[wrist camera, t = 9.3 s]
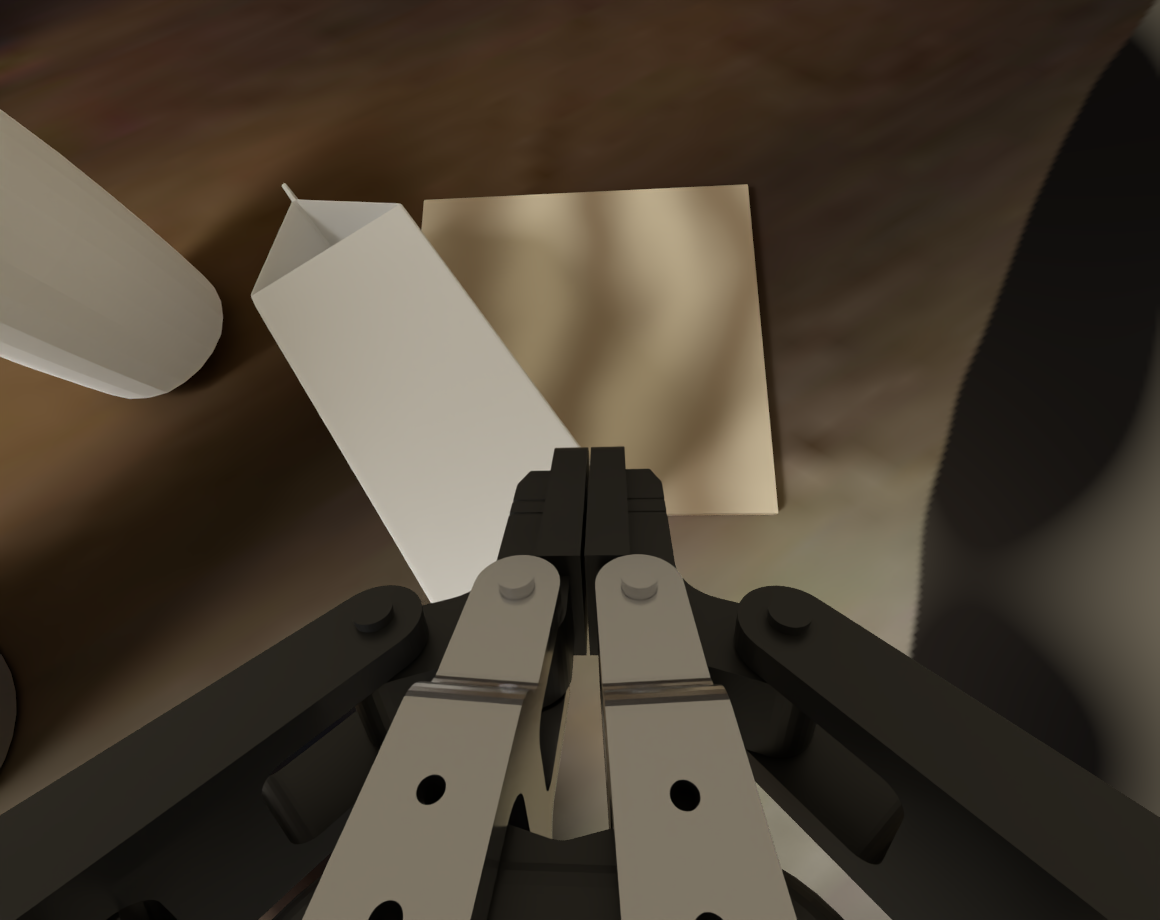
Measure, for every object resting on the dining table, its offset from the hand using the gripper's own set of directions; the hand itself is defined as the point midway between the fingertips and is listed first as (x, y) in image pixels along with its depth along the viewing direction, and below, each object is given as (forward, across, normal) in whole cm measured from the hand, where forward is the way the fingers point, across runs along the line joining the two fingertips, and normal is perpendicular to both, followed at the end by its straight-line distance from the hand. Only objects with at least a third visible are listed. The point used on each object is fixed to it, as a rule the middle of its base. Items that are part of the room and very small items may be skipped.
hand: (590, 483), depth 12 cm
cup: (+18, +24, +2) cm, 30 cm away
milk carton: (+6, +2, +8) cm, 10 cm away
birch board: (+17, +1, +2) cm, 17 cm away
